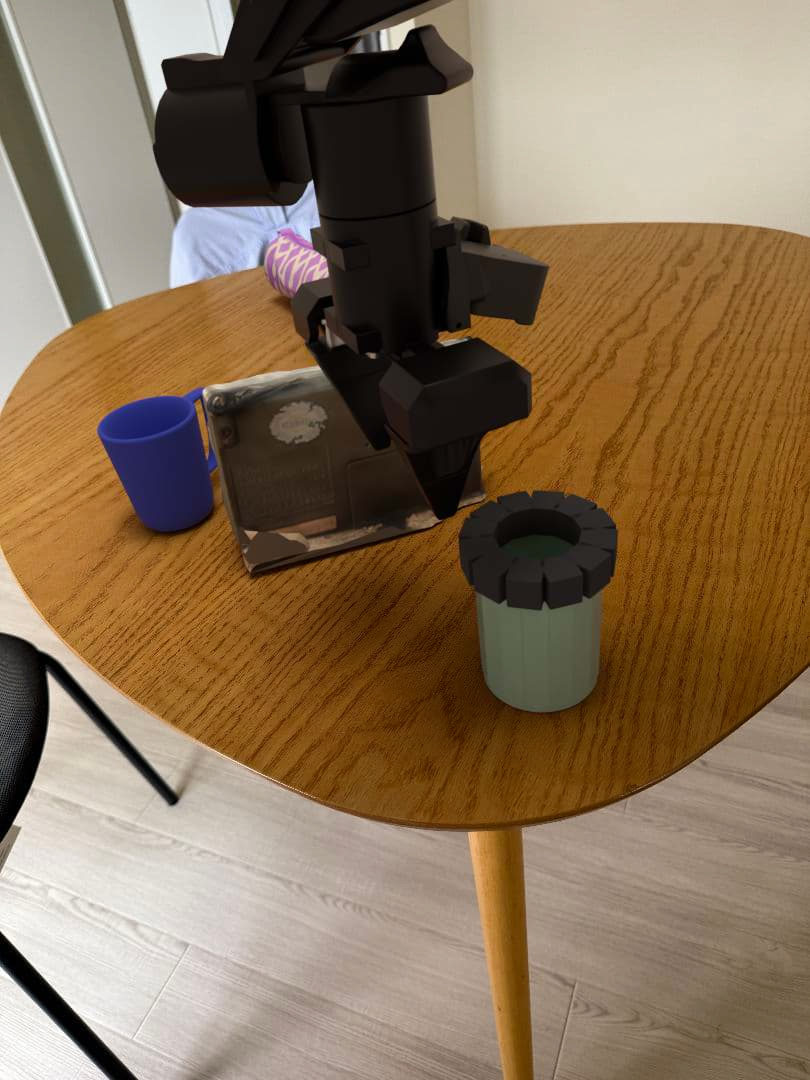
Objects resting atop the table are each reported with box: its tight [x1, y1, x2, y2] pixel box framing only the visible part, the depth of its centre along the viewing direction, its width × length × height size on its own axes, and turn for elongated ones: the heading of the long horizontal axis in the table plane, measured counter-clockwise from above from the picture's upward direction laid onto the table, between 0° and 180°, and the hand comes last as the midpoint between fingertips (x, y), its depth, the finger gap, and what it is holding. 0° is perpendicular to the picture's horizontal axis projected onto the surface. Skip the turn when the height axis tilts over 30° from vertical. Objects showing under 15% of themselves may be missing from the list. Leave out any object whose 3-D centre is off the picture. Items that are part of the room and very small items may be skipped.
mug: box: [96, 386, 218, 532], centre depth 70 cm, size 8×12×10 cm
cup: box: [474, 535, 604, 713], centre depth 48 cm, size 7×7×9 cm
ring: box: [457, 489, 619, 611], centre depth 45 cm, size 9×9×2 cm
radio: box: [202, 335, 488, 574], centre depth 63 cm, size 23×9×15 cm, turn 105°
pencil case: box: [263, 227, 329, 300], centre depth 109 cm, size 22×9×9 cm, turn 39°
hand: (411, 480), depth 47 cm, fingers open, 9 cm apart
